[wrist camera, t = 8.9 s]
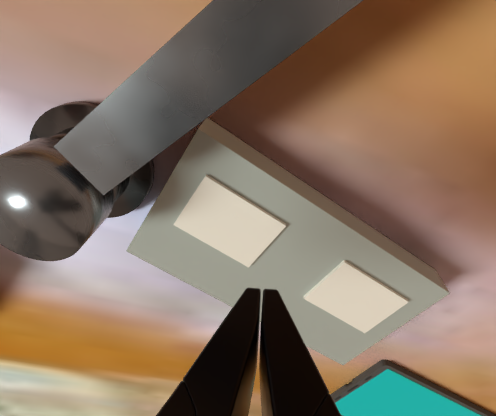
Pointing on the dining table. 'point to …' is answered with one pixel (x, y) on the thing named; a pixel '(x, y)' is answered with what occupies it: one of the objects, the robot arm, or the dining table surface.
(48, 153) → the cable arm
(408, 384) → the smartphone
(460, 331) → the dining table surface
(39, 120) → the dark grey disc
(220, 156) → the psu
